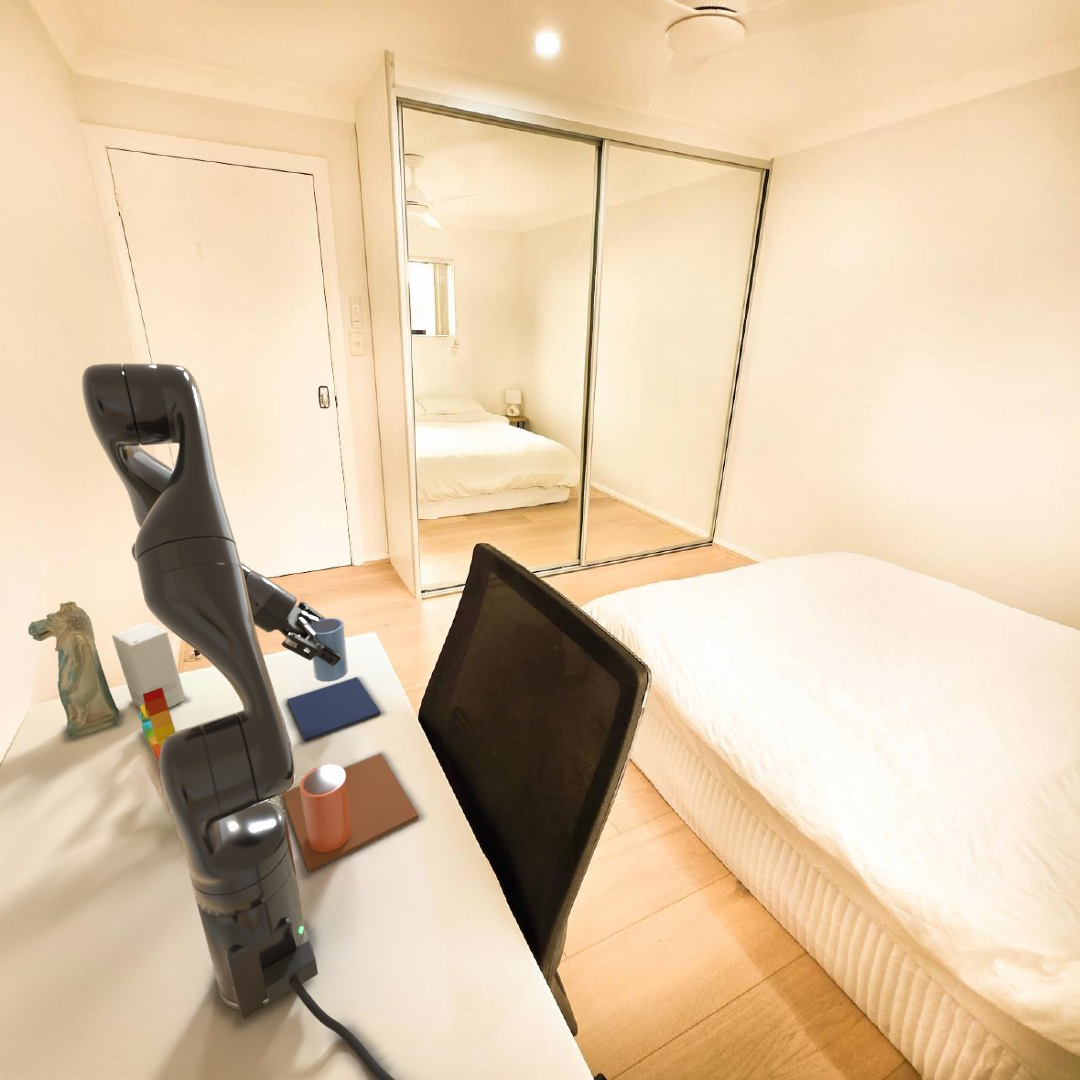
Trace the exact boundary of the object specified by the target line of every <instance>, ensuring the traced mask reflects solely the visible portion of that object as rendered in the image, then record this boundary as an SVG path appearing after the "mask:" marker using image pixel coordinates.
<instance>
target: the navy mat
mask: <svg viewBox="0 0 1080 1080" xmlns="http://www.w3.org/2000/svg"><path fill="white" fill-rule="evenodd" d="M286 701H287V703H288V706H289V708H290V710H291V713H292V715H293V717H294V720H295V721H296V724H297V726H298V729H299V732H300V733H301V735H302V737H303V740H304V742H308V741H311V740H313V739H316V738H319V737H322V736H325V735H327V734H330V733H333V732H335V731H338V730H341V729H343V728H346V727H349V726H351V725H354V724H357V723H360V722H363V721H365V720H369V719H371V718H373V717H377V716H379V715H381V714H382V713H381V710H380V709H379V707H378V705H377V703H375V701H374V699H373V698H372V696H371V695H370V694H369V692H368V691H367V689H366V688H365V686H364V684H363V683H362V682H361V680H360V679H359V677H358V676H355V677H353V678H349V679H347V680H343V681H340V682H337V683H334V684H331V685H327V686H324V687H321V688H318V689H315V690H313V691H309V692H306V693H302V694H300V695H296V696H294V697H290V698H287V699H286Z"/></svg>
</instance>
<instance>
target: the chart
mask: <svg viewBox="0 0 1080 1080" xmlns="http://www.w3.org/2000/svg"><path fill="white" fill-rule="evenodd" d="M143 698H144V703H145V704H144V705H141V706H140V707H139V709H140V712H139V713H138V717H139V719H140V721H141V723H142V724H141V728H142V732H143V735H144V737H145V739H146V740H147V743H148V744H149V747H150V748H151V751H152V753H153V754H154V756H155V758H156V761H157V762H158V763H159V754H160V750H161V746H162V744H163V742H164V741H165V739H166V738H167V737H168V736H170V735H171V734H173V733H175V732H176V729H175V726H174V723H173V719H172V715H171V712H170V708H168V705H167V702H166V699H165V695H164V692H163V689H162V688H159V689H156V690H153V691H150V692H147V693H145V694H143Z"/></svg>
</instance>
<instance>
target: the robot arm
mask: <svg viewBox="0 0 1080 1080" xmlns="http://www.w3.org/2000/svg"><path fill="white" fill-rule="evenodd" d="M81 389H82V396H83V401H84V407H85V411H86V414H87V417H88V420H89V422H90V425H91V428H92V430H93V432H94V434H95V436H96V438H97V440H98V442H99V445H100V446H101V447H102V450H103V451H104V453H105V455H106V456H107V459H108V461H109V462H110V464H111V466H112V468H113V469H114V471H115V473H116V474H117V476H118V478H119V479H120V481H121V482H122V485H123V486H124V488H125V490H126V493H127V494H128V497H129V500H130V504H131V507H132V510H133V515H134V518H135V520H136V523H137V526H138V527H139V531H138V533H137V536H136V539H135V542H134V543H133V544H132V546H131V555H132V558H133V560H134V562H136V566H137V572H138V577H139V581H140V585H141V590H142V596H143V600H144V603H145V605H146V607H147V608H148V610H149V611H150V612H151V613H152V615H153V616H154V617H155V618H156V619H157V621H159V622H160V623H161V624H162V625H163V626H164V627H165V628H167V629H168V631H170V632H172V633H173V634H174V635H176V636H177V637H178V638H180V639H181V640H182V641H183V642H184V643H186V644H187V645H188V646H190V647H191V648H193V649H194V650H196V651H197V652H198V653H199V654H200V655H202V656H203V657H204V658H205V659H206V660H208V661H209V662H210V663H211V664H212V665H213V666H214V667H215V668H216V670H218V672H219V673H220V674H222V676H223V677H224V678H225V679H226V680H227V681H228V682H229V684H230V685H231V687H232V688H233V690H234V692H235V693H236V694H237V696H238V698H239V700H240V702H241V703H242V706H243V709H242V710H239V711H236V712H233V713H228V714H226V715H224V716H220V717H218V718H214V719H211V720H208V721H205V722H201V723H198V724H195V725H193V726H189V727H186V728H183V729H180V730H177V731H175V733H173V734H171V735H170V736H168V737H167V738H166V739H165V741H164V742H163V744H162V746H161V750H160V754H159V762H158V773H159V778H160V783H161V784H160V785H161V787H162V791H163V794H164V797H165V800H166V803H167V806H168V809H169V812H170V814H171V817H172V819H173V823H174V825H175V827H176V830H177V834H178V836H179V840H180V842H181V846H182V849H183V853H184V856H185V857H184V858H185V861H186V865H187V869H188V875H189V879H190V882H191V886H192V889H193V893H194V897H195V903H196V907H197V909H198V913H199V917H200V922H201V925H202V929H203V932H204V936H205V940H206V944H207V948H208V951H209V956H210V959H211V963H212V968H213V970H214V974H215V979H216V986H217V990H218V994H219V996H220V997H219V998H221V1000H222V1001H223V1003H224V1004H226V1005H227V1006H228V1007H229V1008H231V1009H234V1010H238V1011H239V1014H240V1018H241V1019H245V1018H247V1017H249V1016H251V1015H252V1014H254V1013H255V1012H257V1011H259V1010H260V1009H262V1008H263V1007H266V1006H267V1005H269V1004H272V1003H274V1002H275V1001H277V1000H278V999H280V998H282V997H283V996H285V995H286V994H289V993H290V992H291V991H294V993H295V994H296V995H297V996H298V998H299V999H300V1001H301V1002H302V1003H303V1004H304V1006H305V1007H306V1009H307V1010H308V1011H309V1012H310V1013H311V1014H312V1015H313V1017H315V1018H316V1019H317V1021H318V1022H319V1023H321V1024H322V1025H323V1026H325V1027H326V1028H328V1029H329V1030H330V1031H333V1032H334V1033H335V1034H337V1035H338V1036H339V1037H340V1038H342V1039H343V1041H345V1042H346V1043H347V1044H348V1045H349V1046H350V1047H351V1049H352V1050H353V1051H354V1052H355V1053H356V1055H357V1056H358V1057H359V1058H360V1059H361V1061H362V1062H363V1063H364V1065H365V1066H366V1067H367V1069H369V1071H370V1072H371V1073H372V1074H373V1076H375V1078H377V1079H378V1080H396V1079H395V1078H394V1077H392V1076H391V1075H390V1074H389V1073H388V1072H387V1071H386V1070H385V1069H384V1068H383V1067H382V1066H381V1065H380V1064H379V1062H377V1060H376V1059H374V1057H373V1056H372V1055H371V1053H370V1052H369V1051H368V1049H367V1048H366V1047H365V1046H364V1045H363V1043H362V1042H361V1041H360V1040H359V1039H358V1038H357V1037H356V1036H355V1035H354V1034H353V1033H352V1032H351V1031H350V1030H349V1029H348V1028H347V1027H346V1026H345V1025H343V1024H342V1023H340V1022H339V1021H337V1020H336V1019H334V1018H333V1017H331V1016H330V1015H329V1014H328V1013H326V1012H325V1011H324V1009H322V1007H321V1006H319V1004H318V1003H317V1002H316V1001H315V1000H314V999H313V997H312V996H311V994H309V992H308V991H307V990H306V988H305V987H304V986H303V984H305V983H306V982H308V981H309V980H311V979H313V978H314V977H316V976H318V975H319V972H318V966H317V959H316V956H315V952H314V949H313V946H312V943H311V940H310V939H309V936H308V933H307V929H306V923H305V918H304V913H303V907H302V901H301V895H300V890H299V884H298V878H297V872H296V871H297V870H296V866H295V860H294V855H293V848H292V847H293V846H292V841H291V836H290V835H291V834H290V829H289V828H290V827H289V823H288V820H287V816H286V814H285V813H284V811H283V810H282V809H281V808H280V807H279V806H278V805H276V804H275V803H272V802H269V800H271V799H274V798H276V797H278V796H281V795H283V793H285V792H287V791H290V790H291V788H292V786H293V784H294V782H295V777H296V764H295V763H296V762H295V757H294V751H293V747H292V742H291V739H290V736H289V732H288V729H287V726H286V722H285V719H284V716H283V713H282V710H281V707H280V704H279V700H278V698H277V695H276V692H275V689H274V685H273V683H272V678H271V677H270V673H269V670H268V667H267V664H266V660H265V658H264V654H263V652H262V648H261V644H260V641H259V637H258V633H257V629H256V627H257V628H259V629H261V630H262V631H264V632H265V633H273V632H274V631H279V632H280V633H281V634H282V635H283V636H284V637H285V639H284V640H283V641H282V642H281V645H282V647H283V648H285V649H287V650H288V651H291V652H293V653H294V654H296V655H298V656H299V657H301V658H304V659H306V660H307V661H312V659H313V658H314V657H316V656H317V657H319V658H321V659H322V660H324V661H325V662H327V663H329V664H330V665H332V666H334V665H336V664H337V663H338V662H339V660H340V659H341V655H339V654H338V653H336V652H335V651H333V650H332V649H330V648H329V647H327V646H324V644H323V643H322V642H321V641H320V640H318V639H317V635H316V634H315V631H314V630H313V629H312V628H311V626H312V623H314V622H317V621H318V620H321V619H327V618H326V617H325V616H323V615H322V614H321V613H319V612H318V611H317V610H315V609H314V608H313V607H312V606H310V605H309V604H308V603H306V602H305V601H303V600H301V601H300V602H299V603H298V604H297V602H298V600H297V597H296V596H295V595H293V594H292V593H290V592H289V591H287V590H285V589H284V588H283V587H281V586H280V585H278V584H277V583H275V582H274V581H273V580H271V579H270V578H268V577H267V576H265V575H263V574H261V573H259V572H257V571H255V570H254V569H251V567H249V566H248V565H246V564H245V563H243V562H242V561H241V557H240V554H239V550H238V546H237V543H236V542H237V541H236V540H235V537H234V536H235V535H234V533H233V530H232V526H231V523H230V520H229V516H228V513H227V510H226V506H225V503H224V499H223V496H222V492H221V488H220V484H219V480H218V476H217V472H216V466H215V462H214V461H215V460H214V456H213V450H212V449H213V448H212V444H211V439H210V434H209V429H208V422H207V417H206V411H205V407H204V403H203V397H202V393H201V391H200V388H199V385H198V383H197V380H196V379H195V376H194V375H193V374H192V372H191V371H190V370H188V369H187V368H186V367H184V366H183V365H178V364H171V363H130V362H129V363H126V362H125V363H118V362H117V363H115V362H114V363H113V362H112V363H98V364H97V363H95V364H91V365H89V366H87V367H86V368H85V369H84V370H83V373H82V376H81ZM171 444H172V445H175V444H177V445H178V450H177V455H176V460H175V464H174V467H173V468H172V467H171V466H169V465H168V464H166V463H165V462H163V461H162V460H160V459H158V458H157V457H155V456H154V455H152V454H151V453H149V452H148V451H147V450H145V449H144V448H142V447H141V446H155V445H171ZM312 641H313V642H314V643H315V644H316V645H317V646H316V645H315V644H313V643H311V642H312Z"/></svg>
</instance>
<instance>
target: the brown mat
mask: <svg viewBox="0 0 1080 1080" xmlns="http://www.w3.org/2000/svg"><path fill="white" fill-rule="evenodd" d="M342 769H343V770H344V771H345V773H346V781H347V790H348V799H349V807H350V816H351V824H352V833H351V835H350V837H349V839H348V840H347V841H346V843H345V844H343V845H342V846H341V847H339V848H338V849H336V850H333V851H330V852H316V851H314V850H312V849H311V848H310V846H309V844H308V839H307V833H306V826H305V820H304V813H303V807H302V800H301V794H300V785H298V786H297V787H294V788H292V789H289V790H287V791H286V792H284V793H282V798H283V801H284V803H285V807H286V809H287V812H288V815H289V818H290V821H291V824H292V826H293V830H294V833H295V836H296V838H297V839H296V840H297V842H298V844H299V848H300V850H301V853H302V858H303V860H304V862H305V866H306V868H307V871H308V873H311V872H313V871H315V870H317V869H319V868H321V867H324V866H325V865H327V864H329V863H331V862H333V861H335V860H337V859H340V858H341V857H343V856H345V855H347V854H349V853H351V852H353V851H355V850H357V849H359V848H361V847H363V846H364V845H367V844H369V843H371V842H372V841H375V840H377V839H379V838H381V837H383V836H385V835H388V834H389V833H391V832H393V831H395V830H397V829H399V828H401V827H403V826H405V825H407V824H409V823H410V822H413V821H414V820H417V819H419V817H420V815H419V813H418V811H417V809H416V808H415V806H414V805H413V803H412V800H410V798H409V796H408V795H407V793H406V792H405V790H404V788H403V787H402V785H401V784H400V782H399V780H398V779H397V777H396V776H395V774H394V772H393V770H392V769H391V767H390V765H389V764H388V762H387V761H386V759H385V757H384V756H383V754H382V753H381V752H380V753H377V754H375V755H372V756H370V757H368V758H365V759H363V760H360V761H358V762H356V763H353V764H351V765H348V766H346V767H342Z"/></svg>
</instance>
